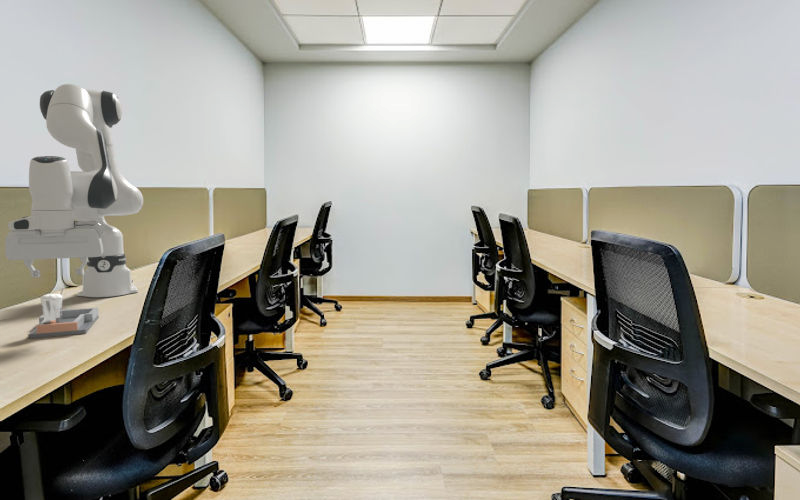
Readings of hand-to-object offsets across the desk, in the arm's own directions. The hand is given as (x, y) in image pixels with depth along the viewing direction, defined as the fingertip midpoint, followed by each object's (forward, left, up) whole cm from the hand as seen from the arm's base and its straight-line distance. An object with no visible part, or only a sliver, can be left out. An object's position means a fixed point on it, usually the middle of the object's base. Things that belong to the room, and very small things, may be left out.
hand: (58, 276), depth 124 cm
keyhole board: (-5, 0, -15) cm, 15 cm away
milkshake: (0, -1, -14) cm, 14 cm away
